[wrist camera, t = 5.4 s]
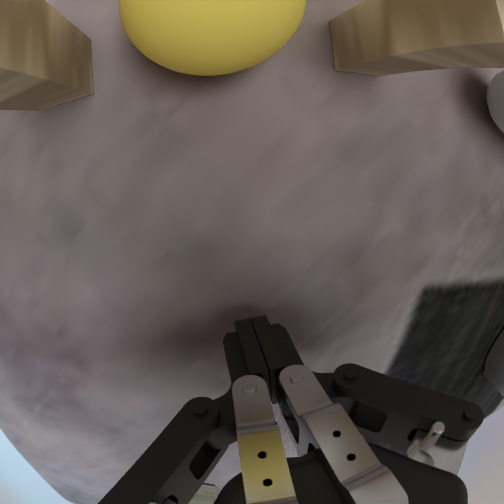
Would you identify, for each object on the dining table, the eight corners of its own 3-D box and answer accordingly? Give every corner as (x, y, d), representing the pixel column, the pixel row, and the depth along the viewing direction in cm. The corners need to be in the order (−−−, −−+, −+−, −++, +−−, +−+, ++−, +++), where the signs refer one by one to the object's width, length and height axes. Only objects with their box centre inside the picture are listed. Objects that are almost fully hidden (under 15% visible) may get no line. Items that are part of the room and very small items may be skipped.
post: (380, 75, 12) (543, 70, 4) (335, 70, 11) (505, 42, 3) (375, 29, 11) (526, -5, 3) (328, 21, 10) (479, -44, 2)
